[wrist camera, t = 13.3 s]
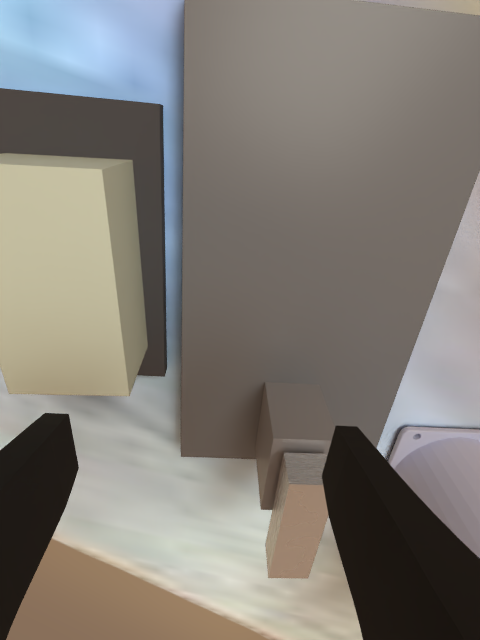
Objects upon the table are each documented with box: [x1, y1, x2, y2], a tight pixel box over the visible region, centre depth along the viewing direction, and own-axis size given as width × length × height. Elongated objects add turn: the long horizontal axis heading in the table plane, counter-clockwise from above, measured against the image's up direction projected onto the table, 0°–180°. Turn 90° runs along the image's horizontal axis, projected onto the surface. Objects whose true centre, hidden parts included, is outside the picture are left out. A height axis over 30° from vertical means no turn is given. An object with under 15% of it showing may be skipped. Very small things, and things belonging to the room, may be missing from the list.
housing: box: [181, 0, 480, 510], centre depth 16 cm, size 12×22×6 cm, turn 175°
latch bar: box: [265, 453, 328, 578], centre depth 17 cm, size 2×7×2 cm, turn 175°
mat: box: [0, 88, 167, 376], centre depth 17 cm, size 8×13×1 cm, turn 175°
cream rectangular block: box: [0, 153, 148, 396], centre depth 15 cm, size 5×9×4 cm, turn 177°
